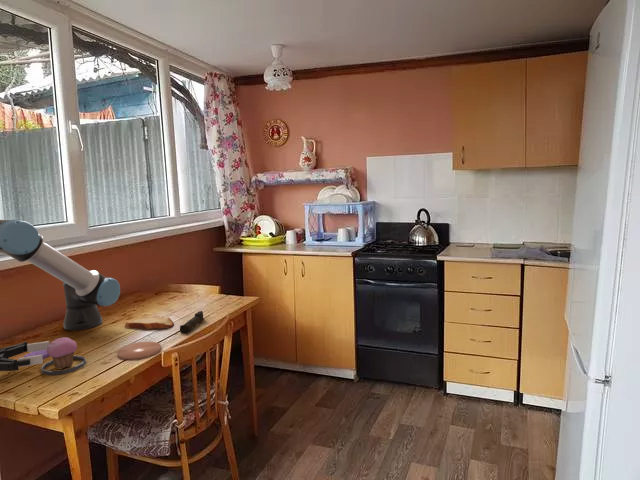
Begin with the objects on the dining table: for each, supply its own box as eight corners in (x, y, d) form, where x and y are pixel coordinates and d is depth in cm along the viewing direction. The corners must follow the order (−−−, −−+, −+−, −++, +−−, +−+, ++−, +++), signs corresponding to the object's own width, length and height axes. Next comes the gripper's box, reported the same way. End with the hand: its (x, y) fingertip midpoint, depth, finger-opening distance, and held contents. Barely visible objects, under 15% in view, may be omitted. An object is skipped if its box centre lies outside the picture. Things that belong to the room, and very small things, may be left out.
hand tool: (188, 334, 186) (188, 323, 186) (179, 334, 187) (178, 323, 187) (209, 320, 205) (208, 310, 204) (200, 319, 206) (200, 309, 205)
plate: (107, 356, 165) (107, 354, 165) (138, 342, 179) (138, 339, 179) (140, 362, 159) (140, 359, 159) (169, 346, 173) (169, 344, 173)
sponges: (24, 360, 165) (23, 355, 165) (50, 347, 178) (50, 343, 177) (40, 361, 164) (40, 356, 164) (66, 348, 176) (66, 343, 176)
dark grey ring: (32, 371, 154) (31, 368, 154) (67, 357, 166) (67, 354, 166) (60, 377, 149) (60, 373, 149) (94, 361, 161) (94, 358, 161)
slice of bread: (122, 326, 201) (122, 317, 200) (164, 317, 211) (164, 309, 210) (132, 337, 186) (131, 328, 185) (177, 327, 196) (176, 319, 195)
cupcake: (73, 359, 164) (70, 332, 162) (82, 366, 158) (79, 337, 156) (45, 367, 157) (42, 339, 156) (53, 374, 151) (50, 345, 150)
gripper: (-18, 360, 159) (53, 350, 166) (-43, 391, 136) (40, 377, 143) (-21, 339, 157) (50, 329, 165) (-47, 366, 135) (37, 353, 142)
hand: (46, 351), depth 154 cm, fingers open, 13 cm apart
